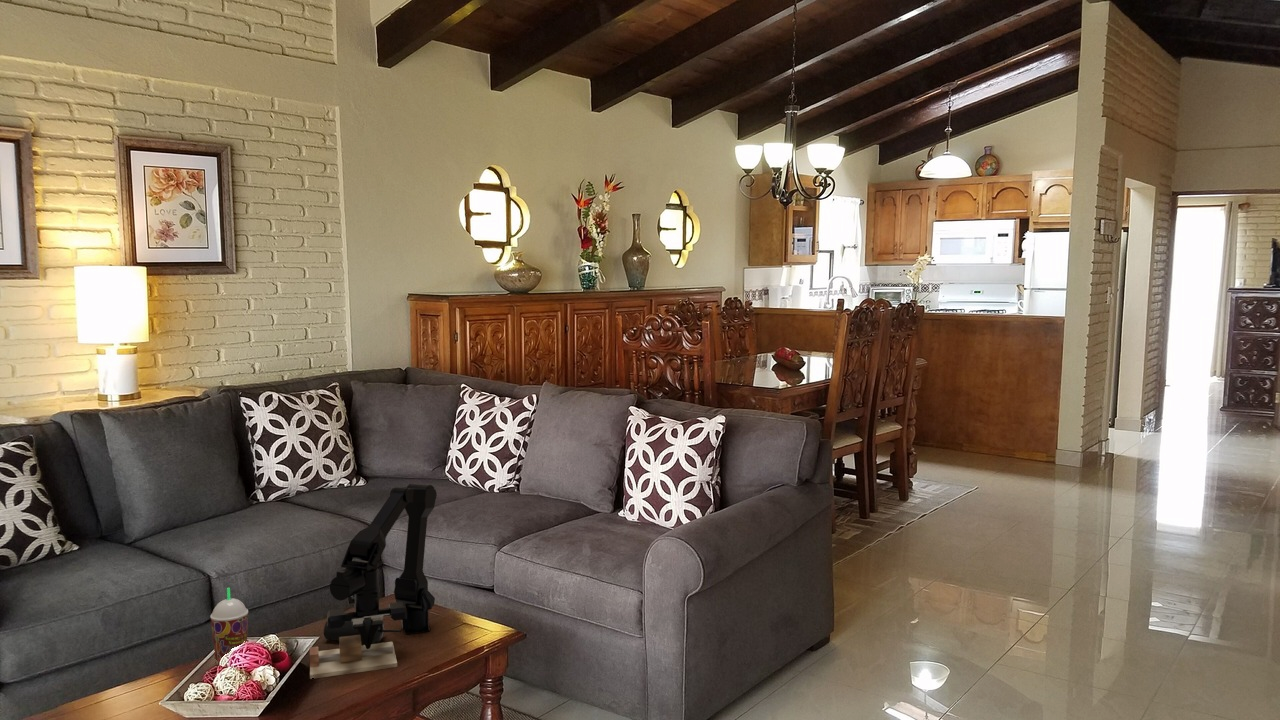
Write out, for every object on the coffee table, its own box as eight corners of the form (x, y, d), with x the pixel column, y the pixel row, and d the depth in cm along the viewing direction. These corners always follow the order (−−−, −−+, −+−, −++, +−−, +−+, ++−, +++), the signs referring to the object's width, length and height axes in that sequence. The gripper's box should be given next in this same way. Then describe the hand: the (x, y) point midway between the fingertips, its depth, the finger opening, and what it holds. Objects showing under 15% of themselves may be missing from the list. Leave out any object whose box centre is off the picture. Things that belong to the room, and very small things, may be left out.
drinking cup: (337, 629, 239) (408, 631, 236) (325, 650, 232) (398, 653, 230) (330, 608, 235) (402, 609, 233) (318, 629, 229) (392, 631, 226)
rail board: (392, 645, 230) (392, 630, 230) (397, 666, 217) (396, 650, 217) (310, 656, 224) (309, 640, 223) (310, 679, 210) (309, 662, 210)
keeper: (360, 650, 224) (360, 634, 223) (361, 659, 218) (361, 643, 218) (339, 653, 222) (339, 637, 222) (340, 662, 217) (339, 646, 216)
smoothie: (231, 677, 211) (228, 595, 209) (204, 672, 214) (201, 591, 212) (257, 663, 219) (255, 584, 217) (231, 658, 222) (228, 580, 220)
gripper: (402, 573, 231) (403, 631, 232) (325, 581, 224) (327, 641, 226) (406, 586, 220) (407, 647, 222) (326, 595, 214) (328, 658, 215)
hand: (368, 648), depth 221 cm, fingers closed
